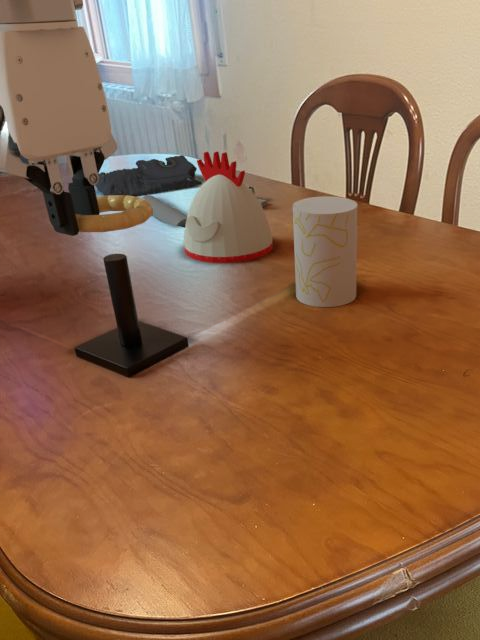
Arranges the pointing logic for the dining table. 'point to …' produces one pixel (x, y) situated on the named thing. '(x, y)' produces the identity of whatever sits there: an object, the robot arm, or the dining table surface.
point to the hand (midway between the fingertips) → (77, 228)
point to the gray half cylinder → (166, 212)
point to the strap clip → (258, 199)
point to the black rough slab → (149, 177)
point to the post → (128, 330)
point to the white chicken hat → (225, 217)
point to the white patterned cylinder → (325, 250)
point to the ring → (116, 214)
